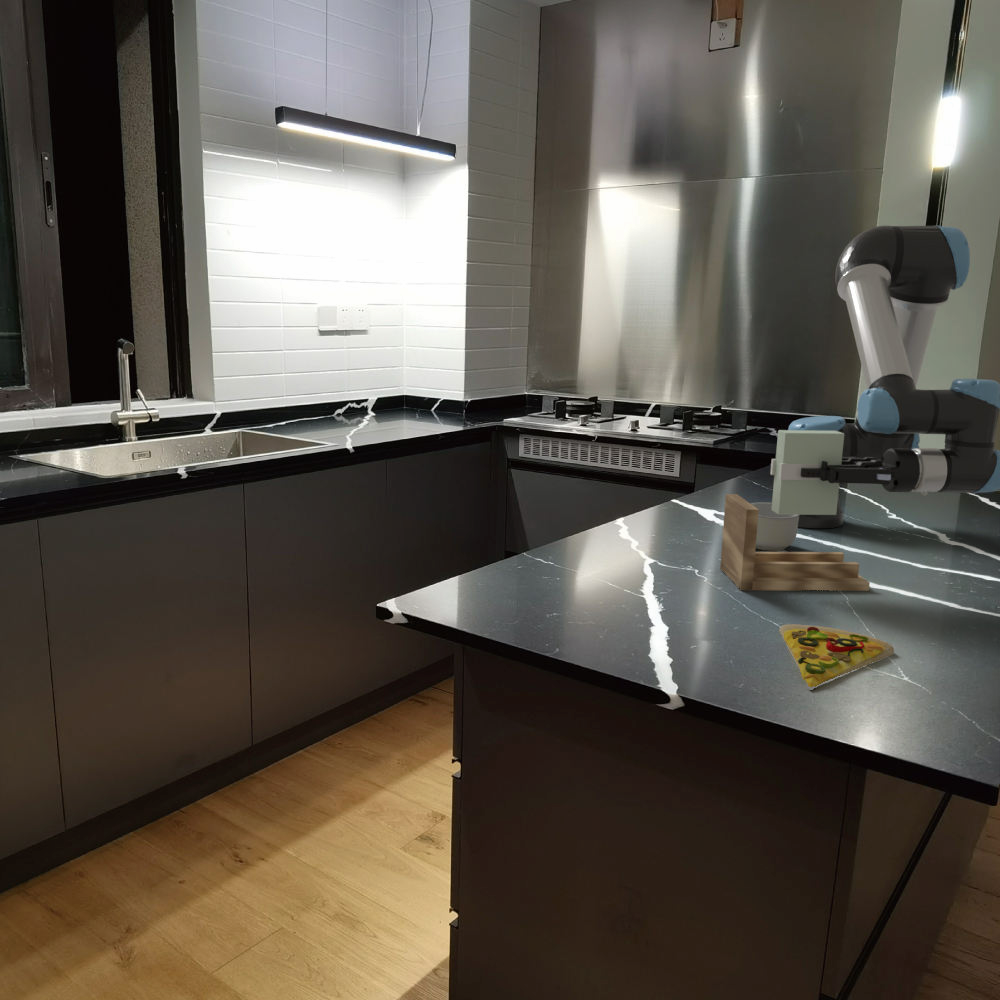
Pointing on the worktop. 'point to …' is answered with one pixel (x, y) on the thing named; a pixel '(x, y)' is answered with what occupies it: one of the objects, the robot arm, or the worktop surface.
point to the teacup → (774, 528)
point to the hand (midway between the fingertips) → (776, 469)
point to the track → (778, 559)
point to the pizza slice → (830, 651)
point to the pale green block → (806, 493)
